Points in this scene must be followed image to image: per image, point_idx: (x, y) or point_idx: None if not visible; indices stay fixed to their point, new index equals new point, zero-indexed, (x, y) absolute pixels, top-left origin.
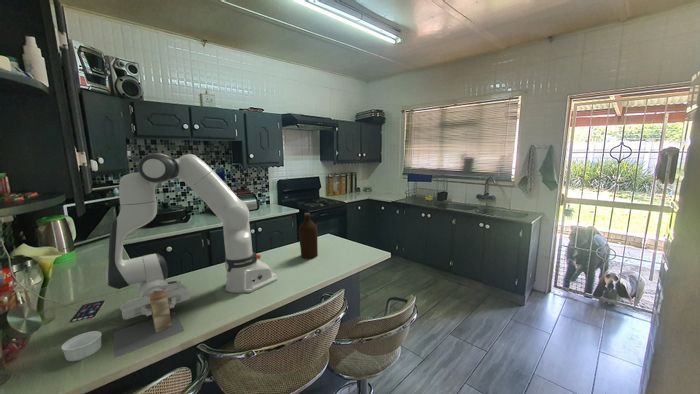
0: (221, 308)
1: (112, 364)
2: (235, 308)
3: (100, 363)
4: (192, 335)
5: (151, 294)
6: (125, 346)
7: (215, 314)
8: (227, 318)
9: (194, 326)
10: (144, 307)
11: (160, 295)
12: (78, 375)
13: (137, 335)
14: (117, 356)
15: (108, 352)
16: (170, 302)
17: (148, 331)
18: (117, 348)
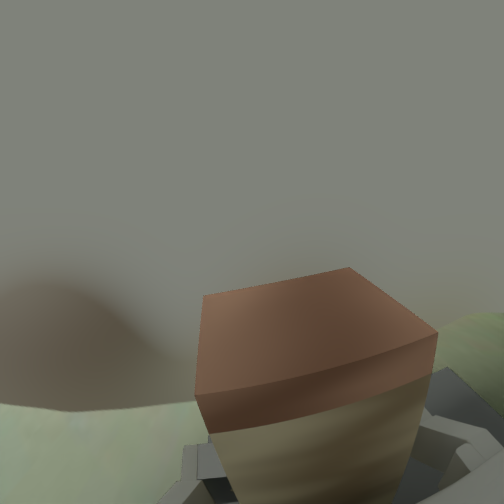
0: (19, 494)
1: (436, 354)
2: (4, 452)
3: (478, 360)
4: (190, 404)
5: (395, 321)
6: (450, 409)
7: (59, 475)
8: (59, 422)
9: (162, 453)
10: (465, 445)
11: (266, 291)
12: (497, 333)
13: (442, 475)
14: (442, 369)
15: (497, 397)
16: (207, 469)
17: (393, 499)
18: (475, 402)
